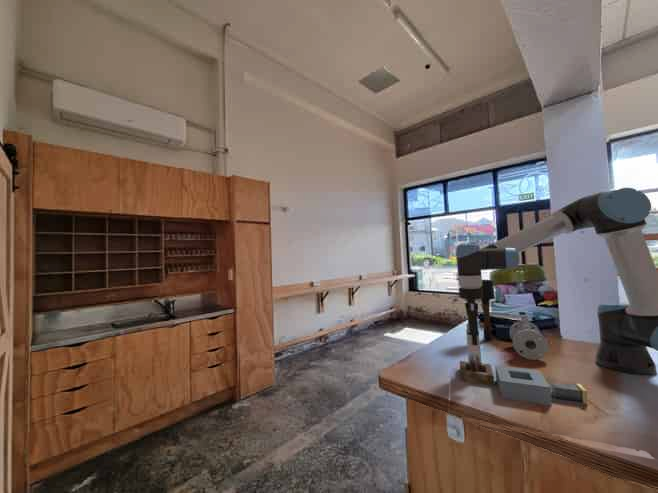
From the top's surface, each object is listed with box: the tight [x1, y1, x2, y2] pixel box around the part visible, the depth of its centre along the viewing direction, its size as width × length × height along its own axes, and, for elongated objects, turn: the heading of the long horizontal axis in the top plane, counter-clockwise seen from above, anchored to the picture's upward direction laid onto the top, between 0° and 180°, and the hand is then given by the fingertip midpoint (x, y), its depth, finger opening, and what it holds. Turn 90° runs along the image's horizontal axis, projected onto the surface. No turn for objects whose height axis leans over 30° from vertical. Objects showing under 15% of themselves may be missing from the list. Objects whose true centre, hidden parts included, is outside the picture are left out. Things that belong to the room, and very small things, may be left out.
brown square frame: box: [459, 360, 495, 386], centre depth 95 cm, size 10×10×4 cm
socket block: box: [495, 365, 585, 407], centre depth 82 cm, size 20×12×6 cm, turn 65°
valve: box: [509, 311, 550, 361], centre depth 120 cm, size 22×12×15 cm, turn 151°
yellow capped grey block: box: [551, 382, 588, 406], centre depth 79 cm, size 7×4×4 cm, turn 65°
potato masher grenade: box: [480, 279, 496, 342], centre depth 137 cm, size 8×9×30 cm
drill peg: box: [465, 323, 482, 372], centre depth 96 cm, size 4×4×18 cm
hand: (474, 348), depth 96 cm, fingers open, 12 cm apart
